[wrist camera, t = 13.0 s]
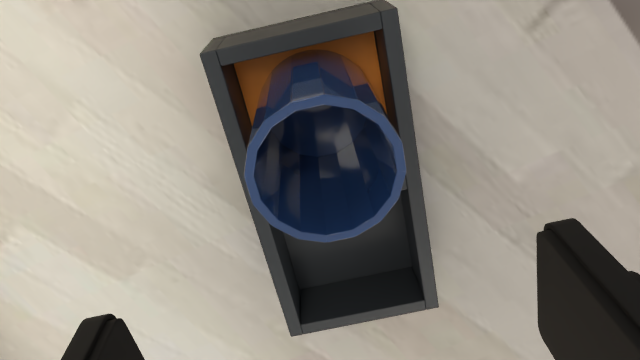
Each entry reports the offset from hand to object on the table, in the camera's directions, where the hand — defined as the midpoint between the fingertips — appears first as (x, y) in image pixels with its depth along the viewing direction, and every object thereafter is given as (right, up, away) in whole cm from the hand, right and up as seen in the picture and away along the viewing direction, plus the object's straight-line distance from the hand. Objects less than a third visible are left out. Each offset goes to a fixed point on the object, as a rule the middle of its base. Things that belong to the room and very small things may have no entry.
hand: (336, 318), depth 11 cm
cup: (-1, +7, +17) cm, 18 cm away
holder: (0, +4, +19) cm, 20 cm away
